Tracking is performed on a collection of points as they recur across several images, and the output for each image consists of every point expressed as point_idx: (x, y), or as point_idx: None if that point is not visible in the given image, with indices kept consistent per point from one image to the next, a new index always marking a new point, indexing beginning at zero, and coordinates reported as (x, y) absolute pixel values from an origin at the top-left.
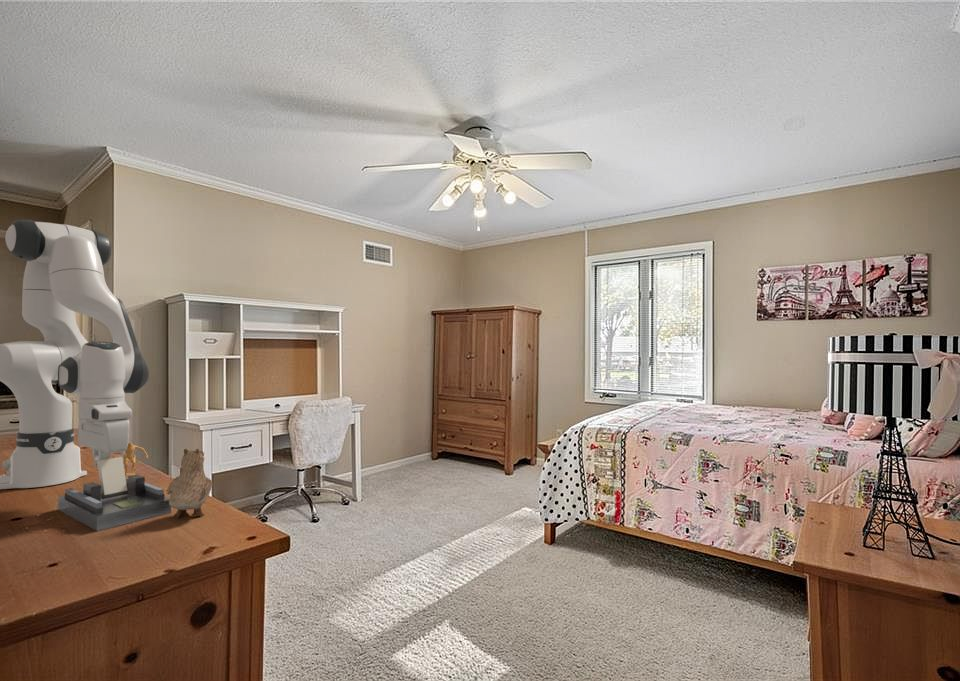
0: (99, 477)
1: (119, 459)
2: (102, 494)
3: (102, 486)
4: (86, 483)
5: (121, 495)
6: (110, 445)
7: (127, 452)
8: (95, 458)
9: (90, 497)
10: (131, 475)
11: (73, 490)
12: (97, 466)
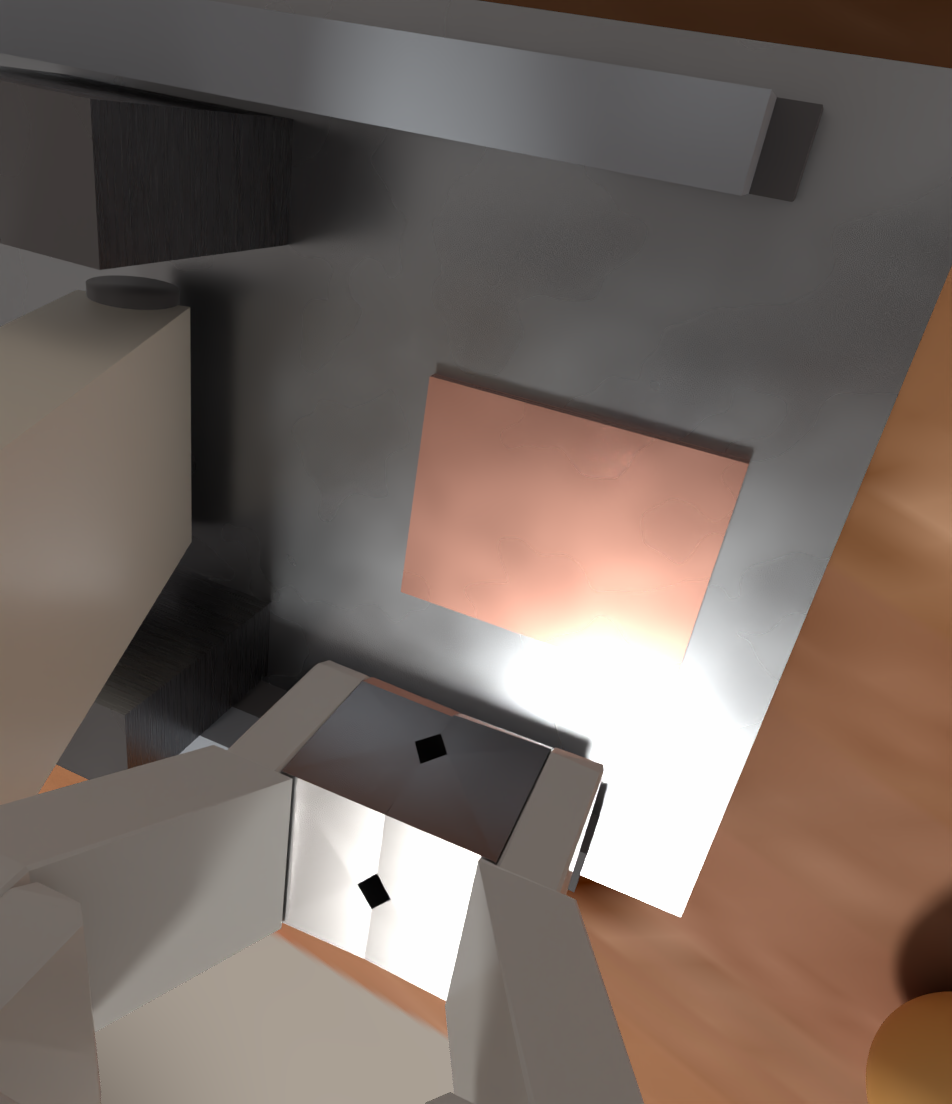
0: (62, 383)
1: None
2: (107, 286)
3: (63, 326)
4: (83, 148)
5: (213, 504)
6: None
7: None
8: (480, 909)
9: None
10: (110, 738)
11: (506, 113)
12: (400, 701)
